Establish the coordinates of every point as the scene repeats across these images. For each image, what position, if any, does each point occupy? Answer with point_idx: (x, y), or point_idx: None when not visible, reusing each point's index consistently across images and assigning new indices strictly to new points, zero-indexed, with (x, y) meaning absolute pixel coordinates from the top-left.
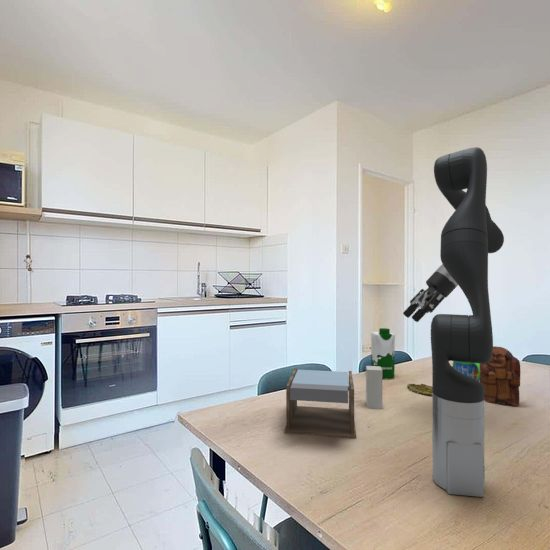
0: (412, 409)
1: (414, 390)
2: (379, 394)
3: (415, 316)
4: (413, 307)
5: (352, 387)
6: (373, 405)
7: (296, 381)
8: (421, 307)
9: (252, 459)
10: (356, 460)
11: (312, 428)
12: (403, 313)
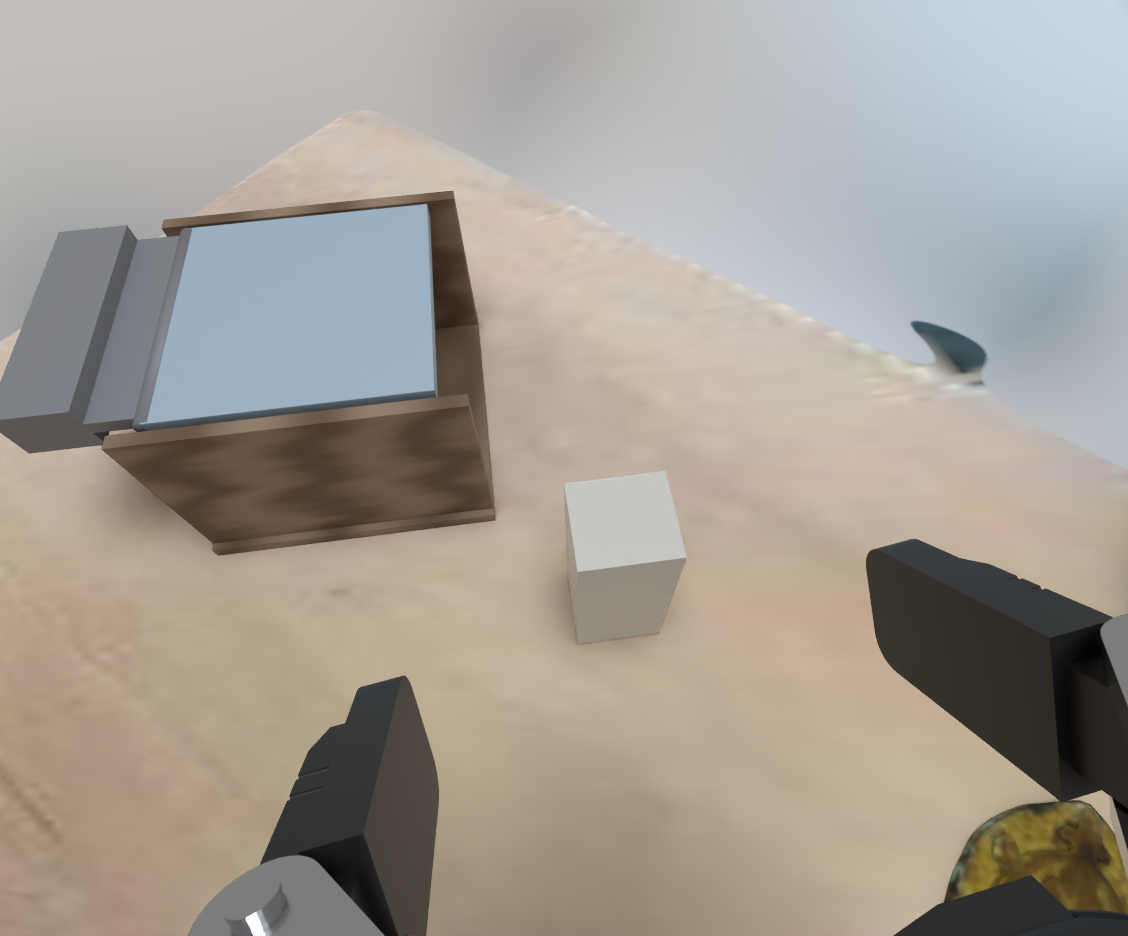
0: (623, 809)
1: (976, 846)
2: (575, 607)
3: (323, 741)
4: (1056, 719)
5: (130, 439)
6: (571, 597)
7: (219, 235)
8: (239, 886)
9: None
10: (45, 570)
11: None
12: (881, 548)
